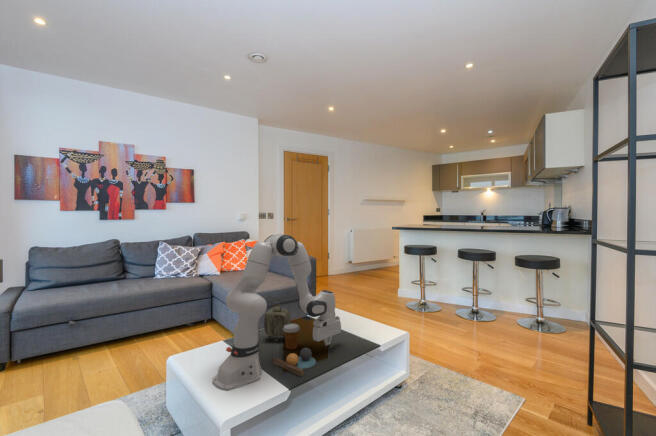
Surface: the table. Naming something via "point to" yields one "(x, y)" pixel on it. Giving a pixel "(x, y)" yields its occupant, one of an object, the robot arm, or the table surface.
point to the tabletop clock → (276, 320)
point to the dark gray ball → (305, 353)
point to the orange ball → (292, 359)
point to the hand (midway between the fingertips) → (327, 344)
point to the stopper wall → (288, 367)
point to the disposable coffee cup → (291, 335)
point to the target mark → (305, 363)
